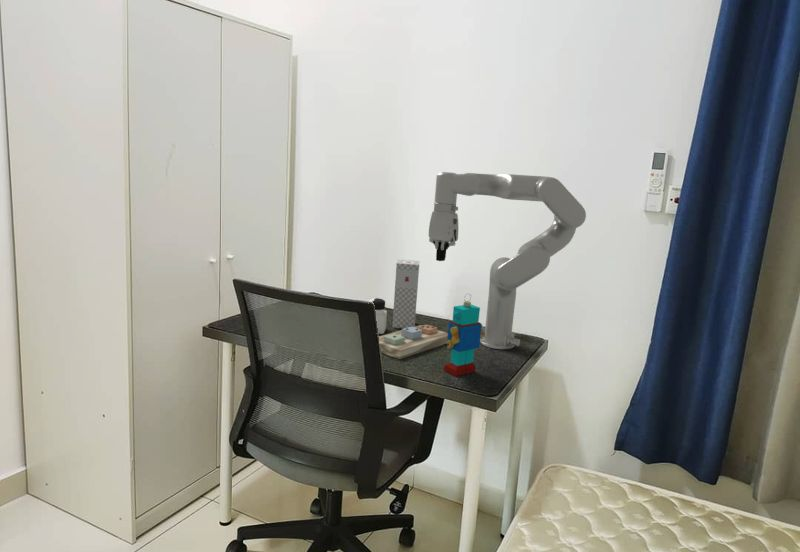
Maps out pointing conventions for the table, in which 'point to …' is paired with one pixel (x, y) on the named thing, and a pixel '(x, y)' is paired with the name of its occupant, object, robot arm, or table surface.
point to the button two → (411, 333)
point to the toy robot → (463, 338)
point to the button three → (428, 329)
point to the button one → (394, 339)
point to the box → (405, 293)
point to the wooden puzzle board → (413, 344)
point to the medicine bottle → (380, 314)
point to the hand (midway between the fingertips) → (440, 260)
